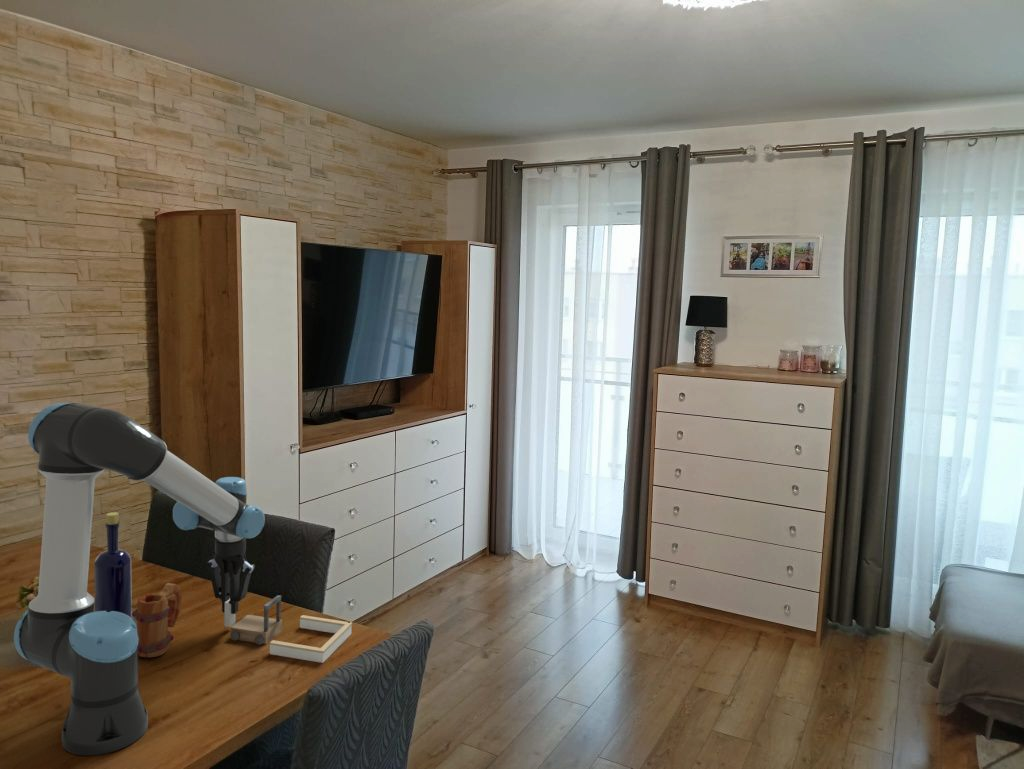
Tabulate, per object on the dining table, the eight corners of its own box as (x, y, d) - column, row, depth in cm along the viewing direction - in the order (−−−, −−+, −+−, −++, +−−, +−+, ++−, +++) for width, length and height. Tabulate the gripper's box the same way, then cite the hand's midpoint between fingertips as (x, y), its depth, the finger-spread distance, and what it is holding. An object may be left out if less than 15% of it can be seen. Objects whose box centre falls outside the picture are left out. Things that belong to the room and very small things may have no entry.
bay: (323, 663, 181) (323, 651, 181) (269, 654, 184) (269, 642, 184) (351, 633, 197) (352, 622, 197) (302, 625, 200) (302, 615, 200)
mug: (154, 665, 176) (154, 604, 174) (124, 660, 177) (123, 599, 176) (192, 637, 190) (192, 581, 188) (164, 633, 192) (164, 577, 190)
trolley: (264, 646, 188) (264, 608, 187) (228, 640, 190) (228, 602, 189) (283, 630, 197) (284, 593, 196) (249, 624, 199) (250, 588, 198)
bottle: (139, 626, 195) (138, 515, 191) (101, 636, 188) (99, 521, 184) (125, 614, 201) (124, 506, 197) (88, 624, 194) (86, 512, 191)
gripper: (261, 535, 195) (260, 621, 197) (216, 530, 197) (216, 615, 200) (245, 545, 187) (244, 634, 190) (199, 538, 190) (198, 627, 193)
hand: (230, 624), depth 195 cm, fingers closed
